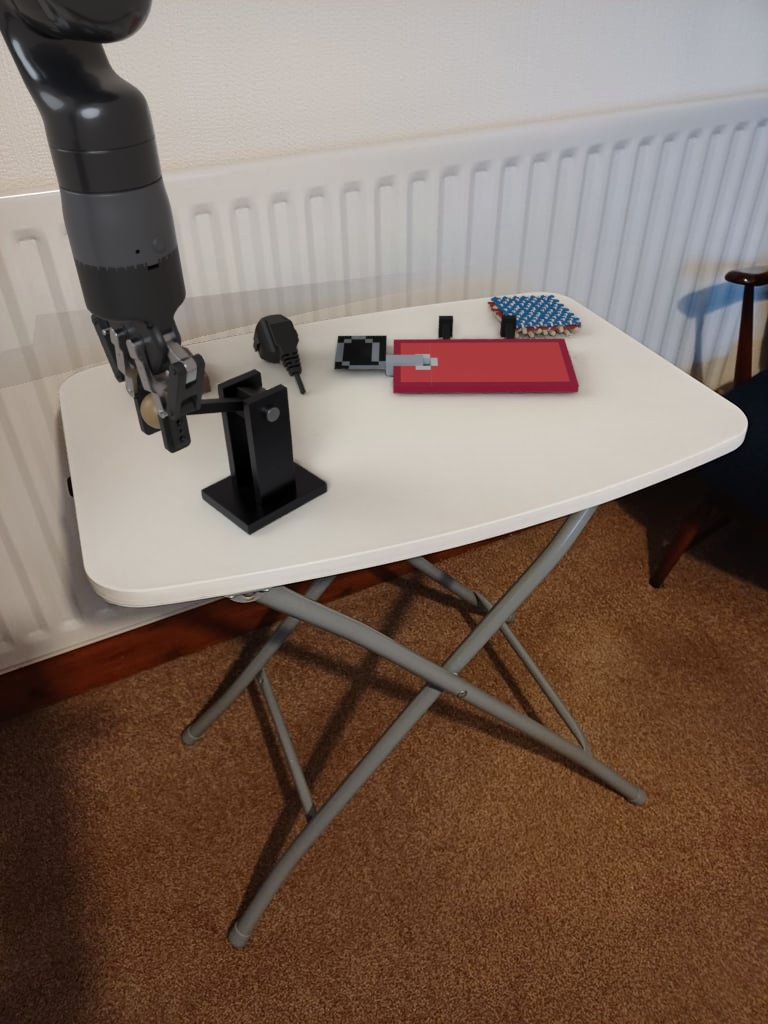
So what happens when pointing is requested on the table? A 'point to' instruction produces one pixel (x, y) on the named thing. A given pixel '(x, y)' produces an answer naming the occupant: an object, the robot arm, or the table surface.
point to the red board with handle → (464, 362)
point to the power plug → (279, 344)
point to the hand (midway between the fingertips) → (166, 438)
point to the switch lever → (203, 405)
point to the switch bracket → (260, 460)
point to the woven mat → (535, 314)
